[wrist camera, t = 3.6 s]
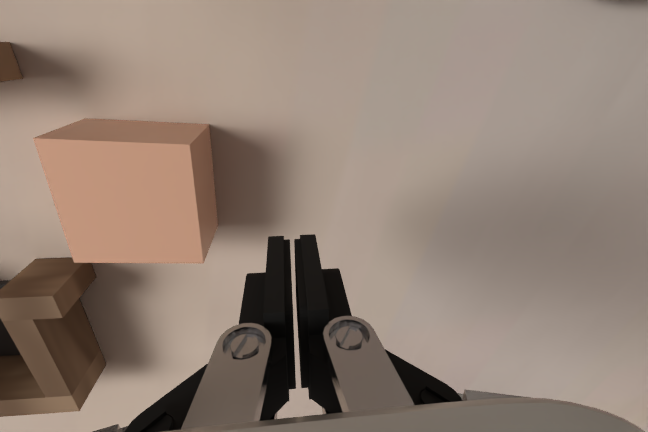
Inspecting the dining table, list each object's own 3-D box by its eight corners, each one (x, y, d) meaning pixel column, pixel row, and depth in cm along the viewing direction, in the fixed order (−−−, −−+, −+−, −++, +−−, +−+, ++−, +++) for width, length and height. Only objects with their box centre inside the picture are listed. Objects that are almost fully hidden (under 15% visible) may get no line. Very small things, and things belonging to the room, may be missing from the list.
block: (210, 123, 18) (189, 144, 14) (218, 224, 20) (203, 263, 17) (87, 117, 17) (33, 138, 13) (113, 222, 20) (74, 262, 16)
